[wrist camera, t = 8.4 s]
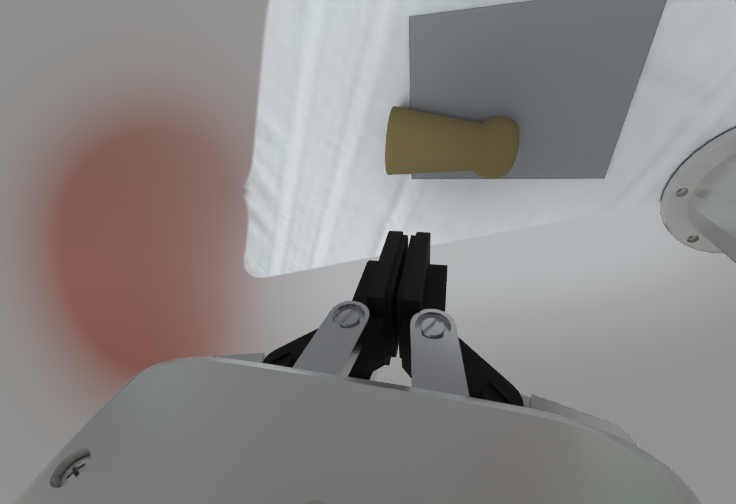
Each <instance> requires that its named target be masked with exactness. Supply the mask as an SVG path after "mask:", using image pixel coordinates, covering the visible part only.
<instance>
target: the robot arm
mask: <svg viewBox="0 0 736 504" xmlns="http://www.w3.org/2000/svg"><path fill="white" fill-rule="evenodd" d="M661 217H662V220H663V224H664V225H665V227H666V228H667V230H668V231H669V232H670V233H671V234H672V235H673V236H674V237H675V238H676V239H677V240H678V241H680V242H681V243H683V244H684V245H686V246H689V247H691V248H694V249H697V250H700V251H706V252H711V253H724V254H726V255H727V256H728V257H729V258H730V259H732V260H733V261H734V262H735V263H736V128H734V129H732V130H730V131H728V132H726V133H724V134H723V135H721V136H719V137H718V138H716V139H714V140H712V141H711V142H709V143H708V144H706V145H705V146H704V147H702V148H701V149H700V150H698V151H697V152H696V153H694V154H693V155H692V156H691V157H690V158H689V159H688V160H687V161H686V162H685V163H684V164H683V165H682V166H681V167H680V168H679V169H678V171H677V172H676V173H675V174H674V176H673V177H672V178H671V180H670V182H669V183H668V185H667V187H666V189H665V191H664V194H663V197H662V201H661ZM446 281H447V265H432V264H430V233H425V232H417V233H416V236H413V235H411V239H410V243H409V247H408V236H407V235H403V232H400V231H389V233H388V236H387V238H386V241H385V244H384V247H383V250H382V253H381V256H380V259H379V261H371V260H369V261H368V262H367V265H366V267H365V269H364V272H363V274H362V277H361V280H360V282H359V285H358V287H357V290H356V292H355V295H354V297H353V300H352V301H346V302H343V303H340V304H338V305H336V306H335V307H334V308H333V309H332V310H331V311H330V312H329V314H328V315H327V317H326V318H325V320H324V321H323V323H322V324H321V326H320V327H319V328H318V329H316V330H314V331H312V332H310V333H308V334H306V335H304V336H302V337H300V338H298V339H296V340H294V341H292V342H290V343H288V344H286V345H284V346H282V347H280V348H278V349H276V350H274V351H273V352H271V353H270V354H269V355H268V356H265V354H264V353H253V354H238V355H223V356H213V357H191V358H181V359H177V360H171V361H166V362H163V363H160V364H157V365H154V366H151V367H149V368H147V369H146V370H143V371H142V372H140V373H139V374H137V375H136V376H135V377H133V378H132V379H131V380H129V381H128V382H127V383H126V384H125V385H124V386H123V387H121V388H120V389H119V390H118V391H117V392H116V393H115V394H114V395H113V396H112V397H111V398H110V399H109V400H108V401H107V402H106V403H105V404H104V405H103V406H102V407H101V408H100V409H99V410H98V411H97V412H96V413H95V414H94V415H93V416H92V417H91V418H90V419H89V420H88V421H87V422H86V423H85V424H84V425H83V427H81V428H80V429H79V430H78V432H77V433H76V434H75V435H74V436H73V437H72V438H71V439H70V440H69V441H68V442H67V443H66V444H65V445H64V446H63V447H62V448H61V450H60V451H59V452H58V453H57V454H56V455H55V456H54V457H53V458H52V459H51V461H50V462H49V463H48V464H47V465H46V466H45V467H44V468H43V469H42V470H41V472H39V474H38V475H37V476H36V477H35V478H34V479H33V480H32V481H31V483H29V485H28V486H27V487H26V488H25V489H24V490H23V491H22V492H21V493H20V494H19V496H18V497H17V498H16V499H15V500H14V501H13V502H12V503H11V504H702V503H701V502H700V500H699V499H698V498H697V497H696V495H695V494H694V492H693V491H692V490H691V489H690V488H689V486H687V484H686V483H685V482H684V481H683V480H682V479H681V478H680V477H679V476H678V475H677V474H676V473H675V472H674V471H673V470H671V469H670V468H669V467H668V466H666V465H665V464H664V463H663V462H661V461H660V460H658V459H657V458H655V457H654V456H652V455H651V454H649V453H648V452H646V451H644V450H643V449H641V448H639V447H637V444H636V443H635V442H634V441H633V439H632V438H631V437H630V435H629V434H627V433H626V432H625V431H624V430H623V429H621V428H620V427H619V426H617V425H615V424H613V423H611V422H609V421H607V420H604V419H601V418H598V417H595V416H593V415H590V414H587V413H584V412H581V411H578V410H576V409H573V408H570V407H567V406H564V405H561V404H558V403H555V402H553V401H550V400H547V399H544V398H541V397H538V396H535V395H532V396H531V397H528V396H524V395H522V394H520V393H519V392H518V390H517V389H516V388H515V387H514V386H513V385H512V384H511V383H510V382H509V381H507V380H506V379H505V378H504V377H503V376H502V375H500V374H499V373H498V372H497V371H496V370H495V369H494V368H492V366H490V365H489V364H488V363H487V362H486V361H485V360H484V359H482V358H481V357H480V356H479V355H478V354H477V353H476V352H475V351H473V350H472V349H471V348H470V347H469V346H468V345H467V344H465V343H464V342H463V341H462V340H461V339H460V338H459V337H458V334H457V328H456V324H455V322H454V319H453V318H452V317H451V316H450V315H449V314H447V313H445V302H446ZM398 345H399V353H400V358H402V367H403V369H404V370H405V371H406V372H407V374H408V375H409V376H410V377H411V378H412V387H408V386H401V385H396V384H390V383H383V382H377V381H374V380H375V378H376V374H377V369H379V368H380V367H382V366H384V365H389V364H390V359H391V357H396V355H397V350H398Z"/></svg>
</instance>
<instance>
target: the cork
mask: <svg viewBox="0 0 736 504" xmlns="http://www.w3.org/2000/svg"><path fill="white" fill-rule="evenodd" d="M519 139H520V131H519V127H518V124H517V123H516V122H515V121H514V120H512V119H510V118H507V117H493V118H489V119H487V120H486V121H484V122H482V123H479V122H473V121H468V120H463V119H458V118H452V117H447V116H442V115H437V114H432V113H426V112H421V111H416V110H411V109H405V108H400V107H395V106H393V108H392V110H391V113H390V117H389V121H388V128H387V136H386V151H385V163H386V172H387V174H388V175H392V174H414V173H436V172H458V171H474V172H475V173H476V174H477V175H478V176H481V177H483V178H487V179H497V178H501V177H503V176H505V175H507V174H508V172H509V171H510V170H511V168H512V167H513V164H514V162H515V159H516V156H517V153H518V148H519Z"/></svg>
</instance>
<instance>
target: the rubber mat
mask: <svg viewBox="0 0 736 504" xmlns="http://www.w3.org/2000/svg"><path fill="white" fill-rule="evenodd" d="M666 2H667V0H534V1H526V2H518V3H511V4H503V5H495V6H488V7H480V8H472V9H465V10H457V11H449V12H441V13H434V14H426V15H418V16H411V17H409V48H410V109H411V110H416V111H421V112H426V113H432V114H437V115H442V116H447V117H452V118H458V119H463V120H468V121H473V122H479V123H482V122H484V121H486V120H487V119H489V118H493V117H507V118H510V119H512V120H514V121H515V122H516V123H517V124H518V127H519V131H520V139H519V148H518V153H517V156H516V159H515V162H514V164H513V167H512V168H511V170H510V171H509V172H508V174H507V175H505V176H503V177H501V178H497V179H578V178H605V175H606V172H607V169H608V166H609V164H610V161H611V158H612V155H613V152H614V149H615V146H616V144H617V141H618V138H619V135H620V132H621V129H622V127H623V124H624V121H625V118H626V115H627V112H628V110H629V107H630V104H631V101H632V98H633V95H634V92H635V90H636V87H637V84H638V81H639V78H640V75H641V73H642V70H643V67H644V64H645V61H646V58H647V56H648V53H649V50H650V47H651V44H652V41H653V38H654V36H655V33H656V30H657V27H658V24H659V21H660V19H661V16H662V13H663V10H664V7H665V4H666ZM412 179H487V178H483V177H481V176H478V175H477V174H476V173H475V172H474V171H458V172H436V173H414V174H412Z"/></svg>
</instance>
